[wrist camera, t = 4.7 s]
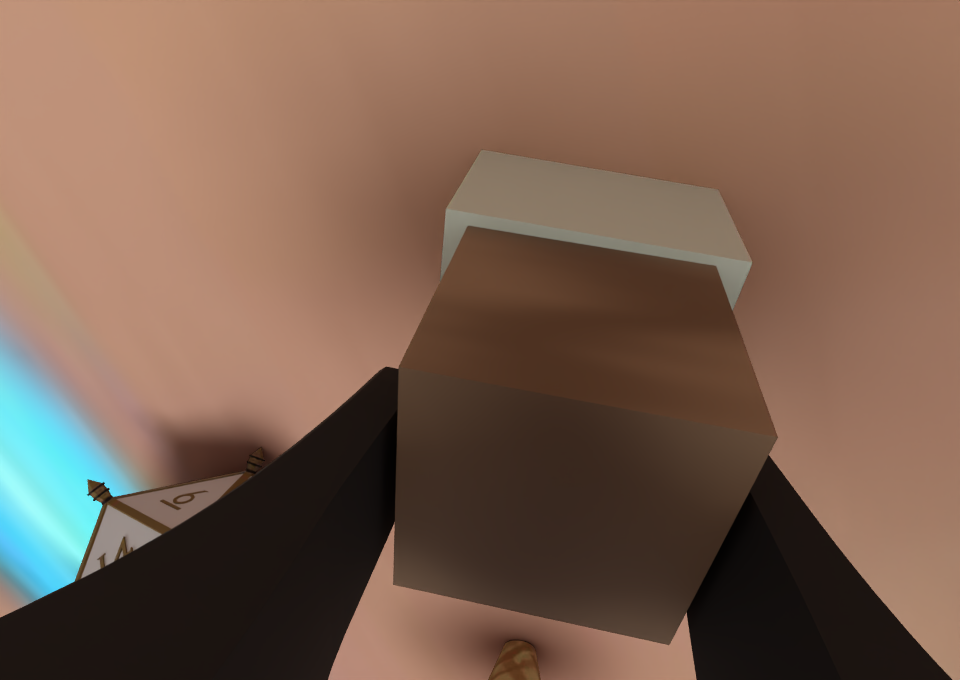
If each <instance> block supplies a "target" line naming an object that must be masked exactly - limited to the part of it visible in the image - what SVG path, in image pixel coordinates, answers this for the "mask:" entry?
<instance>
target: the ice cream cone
mask: <svg viewBox="0 0 960 680" xmlns="http://www.w3.org/2000/svg"><path fill="white" fill-rule="evenodd" d="M488 680H541V679H540V673H539V667H538V661H537V656H536V650H535V649H534V647H533V646H532V645H531V644H529V643H527V642H524V641H518V640H516V641H509V642H506V644H505V645H504V647H503V649H502V651H501V653H500V655H499V658H498V660H497V662H496V664H495V666H494V668H493V671H492V673H491V675H490V677H489V679H488Z"/></svg>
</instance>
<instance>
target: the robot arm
mask: <svg viewBox="0 0 960 680" xmlns="http://www.w3.org/2000/svg"><path fill="white" fill-rule="evenodd" d="M398 377H399V369H395V368H390V367H385V368H383V369H381V370H380V371H379V372H378V373H377V374H375V375H374V376H373V377H372V378H371V379H370V380H369V381H368V382H367V383H366V384H365V385H364V386H363V387H361V388H360V389H359V390H358V391H357V392H356V393H355V394H354V395H353V396H352V397H350V398H349V399H348V400H347V401H346V402H345V403H344V404H343V405H341V406H340V407H339V408H338V409H337V410H336V411H335V412H333V413H332V414H331V415H330V416H329V417H328V418H326V419H325V420H324V421H323V422H321V423H320V424H319V425H318V426H317V427H315V428H314V429H313V430H312V431H311V432H309V433H308V434H307V435H306V436H304V437H303V438H302V439H301V440H300V441H298V442H297V443H296V444H295V445H293V446H292V447H291V448H290V449H288V450H287V451H286V452H284V453H283V454H282V455H280V456H279V457H277V458H276V459H275V460H273V461H272V462H271V463H269V464H268V465H267V466H265V467H264V468H263V469H261V470H260V471H259V472H257V473H256V474H255V475H253V476H252V477H251V478H249V479H248V480H246V481H245V482H243V483H242V484H241V485H239V486H238V487H236V488H235V489H233V490H232V491H230V492H229V493H227V494H226V495H224V496H223V497H221V498H220V499H218V500H217V501H215V502H214V503H212V504H211V505H209V506H208V507H206V508H204V509H203V510H201V511H200V512H198V513H197V514H195V515H193V516H192V517H190V518H189V519H187V520H185V521H184V522H182V523H180V524H179V525H177V526H175V527H174V528H172V529H170V530H169V531H167V532H165V533H163V534H162V535H160V536H158V537H156V538H155V539H153V540H151V541H149V542H148V543H146V544H144V545H143V546H141V547H139V548H137V549H136V550H134V551H132V552H130V553H129V554H127V555H125V556H123V557H121V558H119V559H118V560H116V561H114V562H112V563H110V564H108V565H106V566H104V567H103V568H101V569H99V570H97V571H95V572H93V573H91V574H89V575H87V576H85V577H83V578H81V579H79V580H77V581H75V582H73V583H71V584H69V585H67V586H65V587H63V588H61V589H58V590H56V591H54V592H52V593H50V594H48V595H46V596H44V597H42V598H40V599H38V600H36V601H34V602H32V603H30V604H28V605H26V606H24V607H22V608H20V609H18V610H16V611H13V612H11V613H9V614H7V615H5V616H3V617H1V618H0V680H328V677H329V674H330V671H331V668H332V666H333V663H334V660H335V658H336V655H337V653H338V650H339V648H340V645H341V643H342V640H343V638H344V635H345V633H346V631H347V628H348V626H349V624H350V622H351V619H352V617H353V615H354V613H355V610H356V608H357V606H358V604H359V601H360V599H361V597H362V595H363V592H364V590H365V588H366V586H367V583H368V581H369V579H370V577H371V574H372V572H373V570H374V568H375V565H376V563H377V561H378V559H379V556H380V554H381V552H382V550H383V547H384V545H385V543H386V541H387V538H388V536H389V534H390V531H391V529H392V527H393V525H394V522H395V495H396V456H397V417H398ZM687 618H688V625H689V632H690V638H691V645H692V652H693V658H694V665H695V672H696V678H697V680H952V679H951V678H950V677H949V676H948V675H947V674H946V673H945V672H944V670H943V669H942V668H941V667H940V666H939V665H938V664H937V663H936V662H935V661H934V660H933V659H932V658H931V656H930V655H929V654H928V653H927V652H926V651H925V650H924V649H923V648H922V647H921V645H920V644H919V643H918V642H917V641H916V640H915V639H914V638H913V637H912V635H911V634H910V633H909V632H908V631H907V630H906V628H905V627H904V626H903V625H902V624H901V623H900V621H899V620H898V619H897V618H896V617H895V616H894V614H893V613H892V612H891V611H890V610H889V609H888V607H887V606H886V605H885V604H884V603H883V602H882V600H881V599H880V598H879V597H878V596H877V595H876V593H875V592H874V591H873V590H872V589H871V587H870V586H869V585H868V584H867V582H866V581H865V580H864V579H863V578H862V576H861V575H860V574H859V573H858V572H857V570H856V569H855V568H854V567H853V565H852V564H851V563H850V562H849V560H848V559H847V558H846V556H845V555H844V554H843V553H842V551H841V550H840V549H839V548H838V546H837V545H836V544H835V542H834V541H833V540H832V539H831V537H830V536H829V535H828V533H827V532H826V531H825V529H824V528H823V527H822V526H821V524H820V523H819V522H818V520H817V519H816V518H815V516H814V515H813V514H812V512H811V511H810V510H809V508H808V507H807V506H806V504H805V503H804V502H803V500H802V499H801V498H800V496H799V495H798V494H797V492H796V491H795V490H794V488H793V487H792V486H791V484H790V483H789V482H788V480H787V479H786V477H785V476H784V475H783V473H782V472H781V471H780V469H779V468H778V467H777V465H776V464H775V463H774V461H773V460H772V459H771V457H770V456H769V455H768V457H767V459H766V461H765V463H764V465H763V467H762V468H761V470H760V472H759V474H758V476H757V478H756V480H755V482H754V484H753V486H752V488H751V489H750V491H749V493H748V495H747V497H746V499H745V501H744V503H743V505H742V507H741V509H740V511H739V512H738V514H737V516H736V518H735V520H734V522H733V524H732V526H731V528H730V530H729V532H728V534H727V535H726V537H725V539H724V541H723V543H722V545H721V547H720V549H719V551H718V553H717V555H716V556H715V558H714V560H713V562H712V564H711V566H710V568H709V570H708V572H707V574H706V576H705V578H704V579H703V581H702V583H701V585H700V587H699V589H698V591H697V593H696V595H695V597H694V599H693V601H692V602H691V604H690V606H689V608H688V610H687Z"/></svg>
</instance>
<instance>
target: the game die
mask: <svg viewBox="0 0 960 680" xmlns="http://www.w3.org/2000/svg"><path fill="white" fill-rule="evenodd" d="M250 456H251V457H250V459H249V461H247V463H248V466H247V469H246V470H245V471H241V472H236V473H231V474H226V475H221V476H216V477H211V478H206V479H201V480H196V481H191V482H186V483H181V484H176V485H171V486H166V487H161V488H156V489H151V490H146V491H141V492H136V493H132V494H127V495H122V496H117V497H113V496H111V494H110V492H109V490H110V489H109V488H106V487H105V485H104V484H105V483H104V482H103V483H99V482H96V481H92V480H88V479H87V480H88V491H89V494H88V496H89V495H91V496H92V497H93V498H94V499H93V501H95V500H97V501H99V502H101V503H102V505H103V506H102V509H101V511H100V514H99V517H98V519H97V522H96V525H95V528H94V530H93V533H92V536H91V538H90V541H89V544H88V547H87V549H86V552H85V555H84V557H83V560H82V563H81V565H80V568H79V571H78V574H77V576H76V579H75V581H77V580H79V579H81V578H83V577H85V576H87V575H89V574H91V573H93V572H95V571H97V570H99V569H101V568H103V567H104V566H106V565H108V564H110V563H112V562H114V561H116V560H118V559H119V558H121V557H123V556H125V555H127V554H129V553H130V552H132V551H134V550H136V549H137V548H139V547H141V546H143V545H144V544H146V543H148V542H149V541H151V540H153V539H155V538H156V537H158V536H160V535H162V534H163V533H165V532H167V531H169V530H170V529H172V528H174V527H175V526H177V525H179V524H180V523H182V522H184V521H185V520H187V519H189V518H190V517H192V516H193V515H195V514H197V513H198V512H200V511H201V510H203V509H204V508H206V507H208V506H209V505H211V504H212V503H214V502H215V501H217V500H218V499H220V498H221V497H223V496H224V495H226V494H227V493H229V492H230V491H232V490H233V489H235V488H236V487H238V486H239V485H241V484H242V483H243V482H245V481H246V480H248V479H249V478H251V477H252V476H253V475H255V474H256V471H257V470H258V469H259V468H261V467H262V466H261V464H262V462H263V461H265V460H264V459H263V452H262V447H261V448H260V449H258V450H257V451H256V452H255V453H253V454H252V455H250Z"/></svg>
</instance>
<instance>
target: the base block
mask: <svg viewBox="0 0 960 680" xmlns="http://www.w3.org/2000/svg"><path fill="white" fill-rule="evenodd" d="M467 226H474V227H481V228H487V229H493V230H499V231H505V232H511V233H517V234H524V235H530V236H536V237H542V238H548V239H554V240H560V241H567V242H573V243H579V244H585V245H591V246H597V247H603V248H609V249H616V250H622V251H628V252H634V253H640V254H646V255H652V256H659V257H665V258H671V259H677V260H683V261H689V262H695V263H701V264H708V265H714V266H716V267H717V269H718V272H719V275H720V278H721V281H722V283H723V286H724V289H725V292H726V294H727V297H728V300H729V303H730V306H731V308H732V311H733V308H734V306H735V303H736V301H737V299H738V296H739V294H740V291H741V289H742V287H743V284H744V282H745V280H746V277H747V275H748V272H749V270H750V268H751V265H752V263H753V262H752V260H751V258H750V256H749V254H748V252H747V250H746V247H745V245H744V243H743V241H742V239H741V237H740V235H739V233H738V230H737V228H736V226H735V224H734V222H733V220H732V218H731V216H730V213H729V211H728V209H727V207H726V205H725V203H724V201H723V199H722V196H721V194H720V192H719V190H718V189H712V188H706V187H700V186H694V185H689V184H683V183H677V182H671V181H665V180H659V179H653V178H647V177H641V176H635V175H629V174H623V173H617V172H611V171H606V170H600V169H594V168H588V167H582V166H576V165H570V164H564V163H558V162H552V161H546V160H540V159H534V158H529V157H523V156H517V155H511V154H505V153H499V152H493V151H487V150H481V151H480V153H479V155H478V156H477V158H476V160H475V161H474V163H473V165H472V166H471V168H470V170H469V171H468V173H467V175H466V176H465V178H464V180H463V181H462V183H461V185H460V186H459V188H458V190H457V191H456V193H455V195H454V196H453V198H452V200H451V201H450V203H449V205H448V206H447V208H446V215H445V227H444V239H443V250H442V262H441V274H440V281H441V279H442V277H443V275H444V273H445V271H446V269H447V267H448V265H449V263H450V261H451V259H452V257H453V255H454V253H455V251H456V249H457V247H458V244H459V242H460V240H461V238H462V236H463V234H464V232H465V230H466V228H467Z"/></svg>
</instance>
